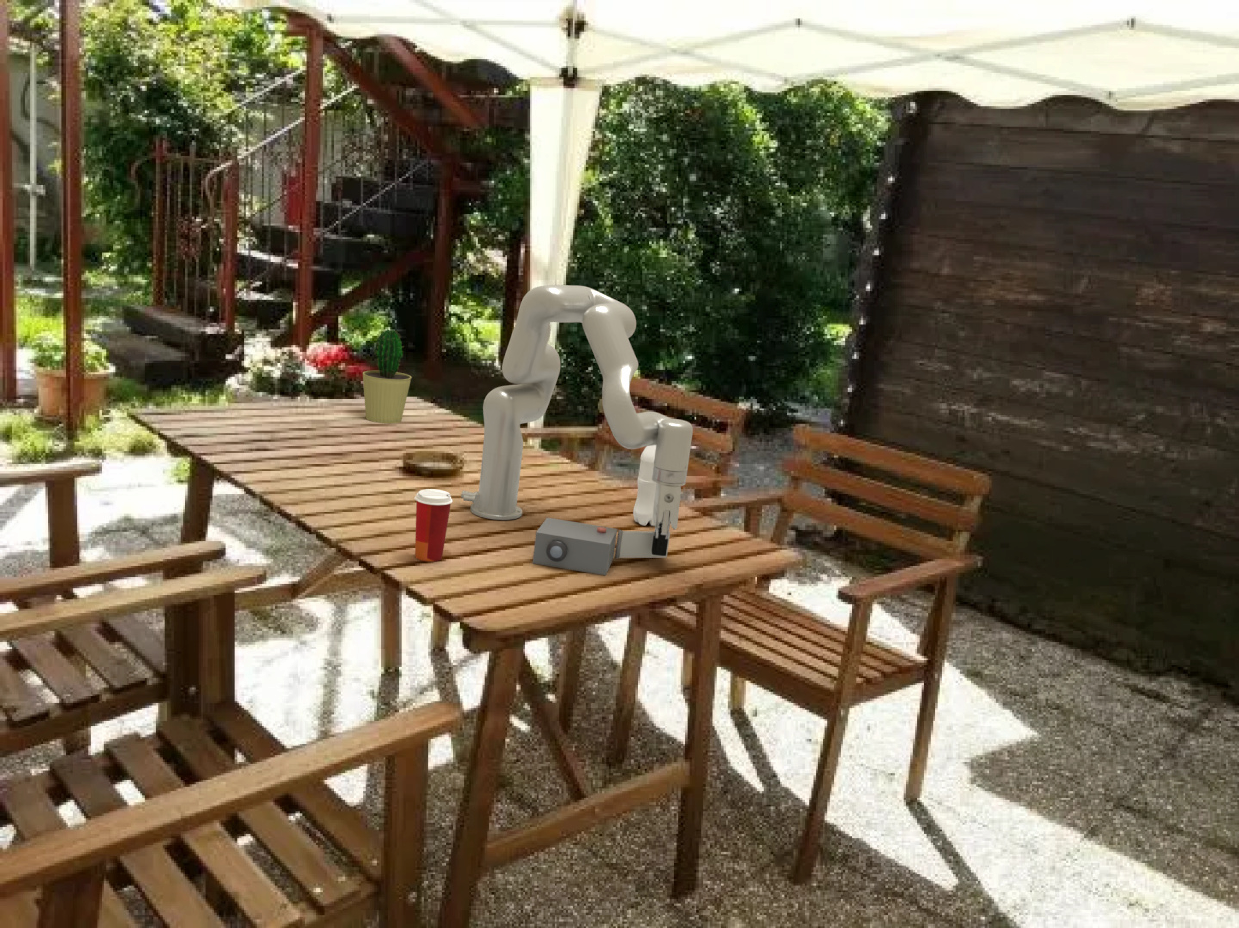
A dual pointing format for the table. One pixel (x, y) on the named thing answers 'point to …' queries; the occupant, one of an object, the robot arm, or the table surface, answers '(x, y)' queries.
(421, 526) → the paper cup
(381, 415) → the potted cactus
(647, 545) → the side door
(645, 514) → the water bottle
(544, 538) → the camera body
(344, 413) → the table surface
